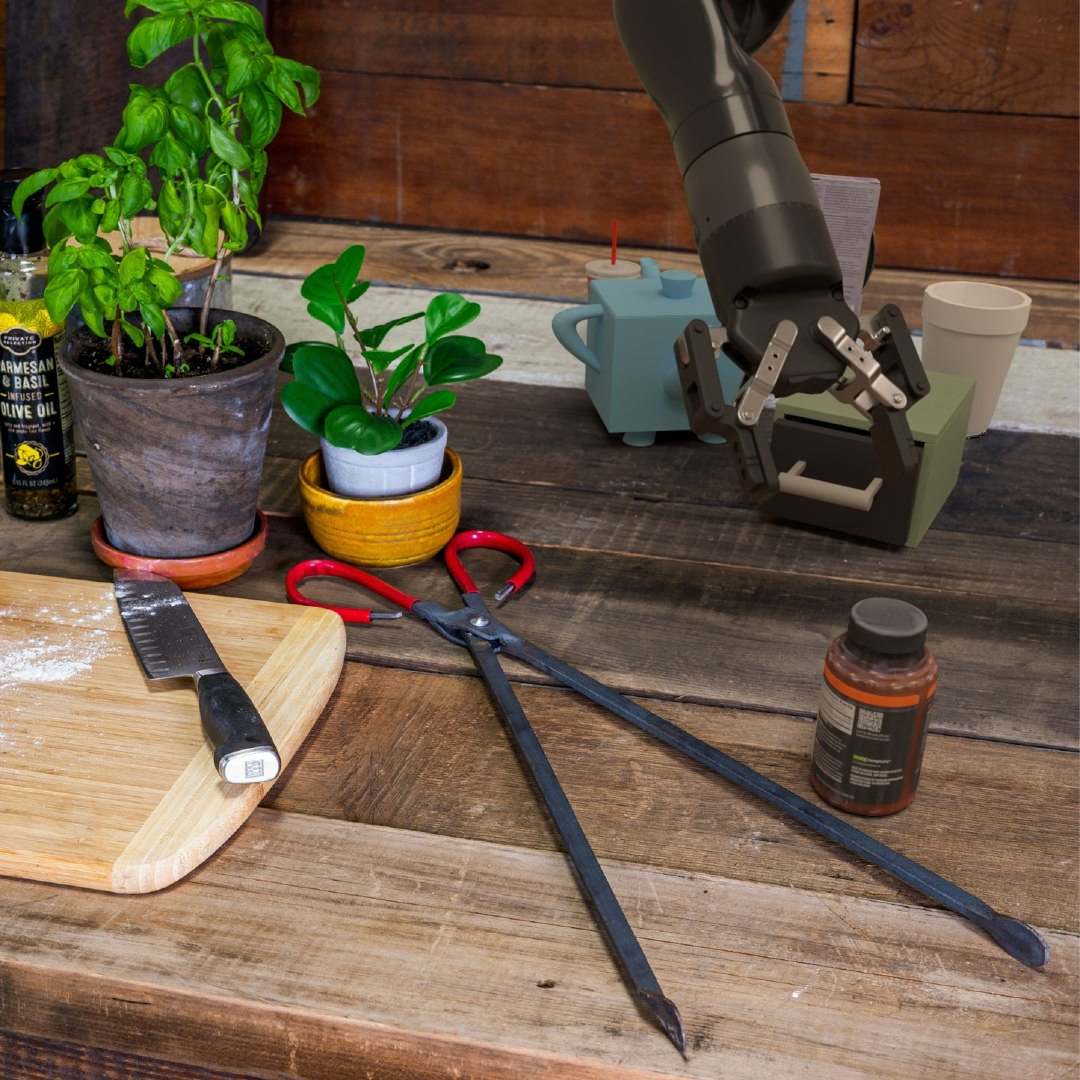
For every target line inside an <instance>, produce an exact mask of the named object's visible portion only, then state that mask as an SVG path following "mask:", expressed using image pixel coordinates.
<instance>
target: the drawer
mask: <svg viewBox="0 0 1080 1080" xmlns="http://www.w3.org/2000/svg"><path fill="white" fill-rule="evenodd" d="M773 422H774V421H773ZM772 430H773V431H772V432H771V440H770V450H771V453H772V457H773V460H774V464H775V467H776V471H777V474H778V478H779V481H780V489H779V492H778V493H776V494H775V495H774V496H773V497H772V498H770V499H769V500H768V501H763V507H762V513H763V514H767V515H771V516H776V517H778V518H779V517H780V518H783V519H787V520H792V521H794V522H795V521H796V522H800V523H803V524H809V525H811V526H812V525H813V526H817V527H820V528H824V529H830V530H832V531H837V532H842V533H846V534H850V535H854V536H857V537H862V538H867V539H870V540H874V541H880V542H882V543H888V544H892V545H896V546H899V547H905V546H904V545H905V544H906V542H907V541H908V536H909V530H910V525H911V519H912V513H913V508H914V502H915V497H916V491H917V486H918V480H919V474H920V469H921V463H922V458H923V452H924V444H925V442H921V441H916V440H914V443H915V447H916V449H917V452H918V455H919V456H918V464H917V465H916V466H915V473H914V475H912V476H911V477H910V478H908V479H907V480H905V481H904V482H903V483H901V484H894V485H888V484H887V483H886V482H885V479H884V476H883V473H882V470H881V466H880V463H879V460H878V457H877V454H876V450H875V447H874V444H873V441H872V438H871V434H870V431H868V430H863V429H858V428H853V427H848V426H843V425H838V424H833V423H829V422H824V421H819V420H814V419H809V418H804V417H799V416H793V417H792V421H790V420H786V419H781V418H778V419H777V420H776V421H775V422H774V423H772Z"/></svg>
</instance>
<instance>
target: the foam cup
mask: <svg viewBox="0 0 1080 1080" xmlns="http://www.w3.org/2000/svg"><path fill="white" fill-rule="evenodd" d="M1032 302H1033V299H1032V298H1031V297H1030V296H1028V295H1027V294H1026V293H1025V292H1023V291H1019V290H1017V289H1014V288H1011V287H1009V286H1003V285H999V284H994V283H993V284H992V283H988V282H979V281H978V282H977V281H968V280H967V281H966V280H955V281H941V282H936V283H931V284H929V285H928V286H927V287H926V288H925V289H924V293H923V298H922V304H921V310H920V316H921V317H922V327H921V329H922V331H921V357H920V361H921V363H922V366H923V368H924V370H929V371H934V372H940V373H945V374H951V375H956V376H962V377H967V378H973V379H977V382H976V387H975V393H974V398H973V403H972V408H971V413H970V418H969V424H968V429H967V434H966V437H967V436H971V435H972V436H973V435H979V434H981V433H982V432H983V433H984V432H986V430H987V428H988V429H989V426H990V424H991V421H992V418H993V416H994V413H995V410H996V407H997V404H998V402H999V399H1000V396H1001V394H1002V390H1003V388H1004V384H1005V382H1006V378H1007V376H1008V373H1009V370H1010V368H1011V364H1012V361H1013V359H1014V357H1015V353H1016V350H1017V348H1018V345H1019V342H1020V339H1021V336H1022V333H1023V331H1025V329H1026V327H1027V325H1028V321H1029V318H1030V317H1029V316H1030V312H1031V308H1032V307H1031V306H1032V304H1033V303H1032ZM987 431H988V430H987ZM986 433H987V432H986Z"/></svg>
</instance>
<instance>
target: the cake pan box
mask: <svg viewBox="0 0 1080 1080" xmlns="http://www.w3.org/2000/svg"><path fill="white" fill-rule="evenodd" d="M809 173H810V175H811V178H812V181H813V183H814V186H815V190H816V193H817V196H818V199H819V202H820V206H821V209H822V212H823V215H824V218H825V221H826V224H827V227H828V230H829V234H830V237H831V240H832V243H833V246H834V249H835V252H836V256H837V259H838V262H839V265H840V268H841V271H842V275H843V294H844V299H845V302H846V303H847V305H848V306H849V308H850V309H851V310H852V311H853V312H854V313H855V314H856V316H858V315H861V310H862V304H863V303H862V302H863V296H864V291H863V290H864V289H865V287H866V286H867V284H868V282H869V280H870V279H871V276H872V275H873V271H874V267H875V263H876V259H877V237H876V230H875V224H876V218H877V213H878V208H879V202H880V196H881V195H880V194H881V189H882V186H881V182H880V180H879V179H878V178H873V177H859V176H845V175H834V174H833V175H832V174H822V173H811V172H809Z"/></svg>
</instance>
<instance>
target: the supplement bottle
mask: <svg viewBox="0 0 1080 1080" xmlns="http://www.w3.org/2000/svg"><path fill="white" fill-rule="evenodd" d="M928 625H929V621H928V618H927V615H925V613H924V612H923V611H922V610H921V609H920V608H918V607H916V606H915V605H913V604H911V603H909V602H907V601H904V600H900V599H896V598H890V597H880V596H879V597H870V598H865V599H862V600H860V601H858V602H856V603H855V604H854V605H853V606H852V607H851V609H850V613H849V621H848V624H847V627H846V628H847V630H846V631H844V632H842V633H840V634H839V635H837V636H836V637H834V638H833V640H832V642H831V643H829V646H828V648H827V651H826V654H825V658H824V659H825V660H824V667H823V672H822V679H821V687H820V694H819V702H818V708H817V715H816V716H817V717H816V723H815V732H814V737H813V744H812V752H811V761H810V769H809V770H810V773H809V777H810V781H811V784H812V786H813V788H814V789H815V791H816V792H817V793H818V795H819V796H821V797H822V798H823V799H824V800H825V801H826V802H828V803H829V804H831V805H832V806H834V807H837V808H839V809H841V810H844V811H846V812H850V813H852V814H855V815H856V814H857V815H864V816H873V817H874V816H875V817H876V816H886V815H891V814H893V813H897V812H899V811H902V810H903V809H905V808H906V807H907V806H909V805H910V804H912V801H913V800H914V798H915V796H916V793H917V788H918V786H919V782H920V777H921V770H922V766H923V761H924V760H923V758H924V754H925V749H926V744H927V739H928V733H929V728H930V723H931V718H932V717H931V716H932V711H933V706H934V701H935V696H936V689H937V684H938V677H939V665H938V660H937V657H936V656H935V654H934V653H933V652H932V650H931V649H930V648H929V647H928V646H927V645H926V642H927V631H928Z"/></svg>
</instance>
